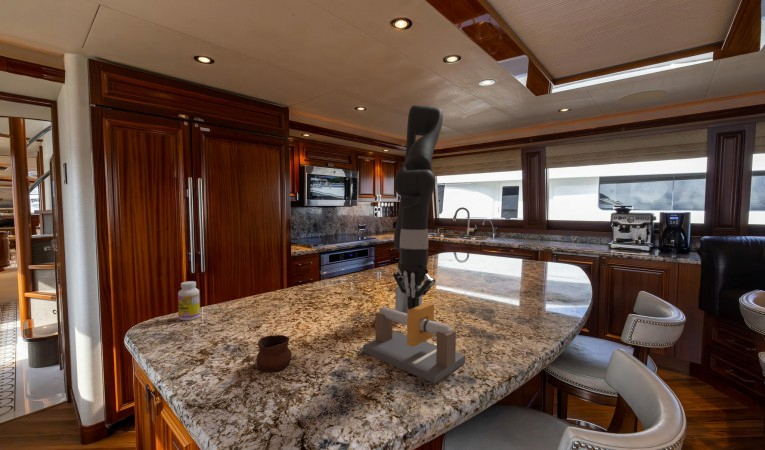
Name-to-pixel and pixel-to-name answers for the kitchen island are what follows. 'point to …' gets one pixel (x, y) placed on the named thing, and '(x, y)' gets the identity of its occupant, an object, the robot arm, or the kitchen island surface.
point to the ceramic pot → (273, 354)
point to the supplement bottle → (188, 301)
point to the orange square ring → (413, 319)
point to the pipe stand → (415, 347)
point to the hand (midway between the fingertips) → (413, 310)
